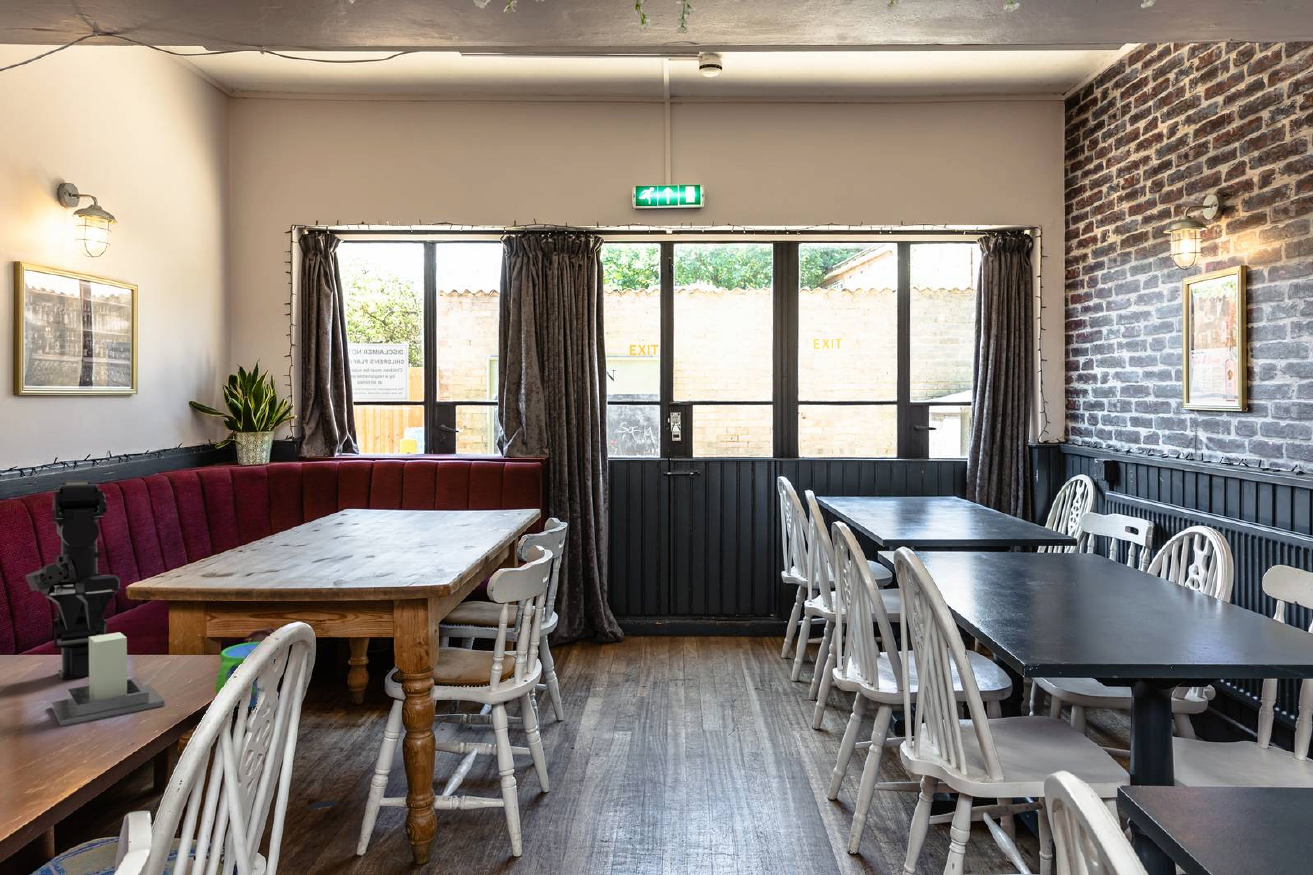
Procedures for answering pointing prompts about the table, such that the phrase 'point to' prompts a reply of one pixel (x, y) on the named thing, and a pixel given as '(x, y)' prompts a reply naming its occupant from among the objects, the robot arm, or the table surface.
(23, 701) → the table surface
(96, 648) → the sage block
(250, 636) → the icecream
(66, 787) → the table surface
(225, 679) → the snack cup
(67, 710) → the grey rectangular tray
